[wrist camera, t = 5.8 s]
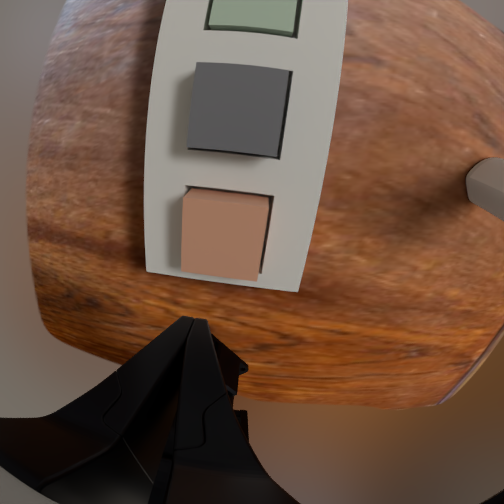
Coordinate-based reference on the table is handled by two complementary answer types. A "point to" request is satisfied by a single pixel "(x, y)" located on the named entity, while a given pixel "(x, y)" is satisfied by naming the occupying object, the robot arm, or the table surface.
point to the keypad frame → (238, 163)
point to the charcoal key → (237, 108)
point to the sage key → (254, 16)
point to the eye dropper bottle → (487, 186)
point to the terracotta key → (223, 233)
